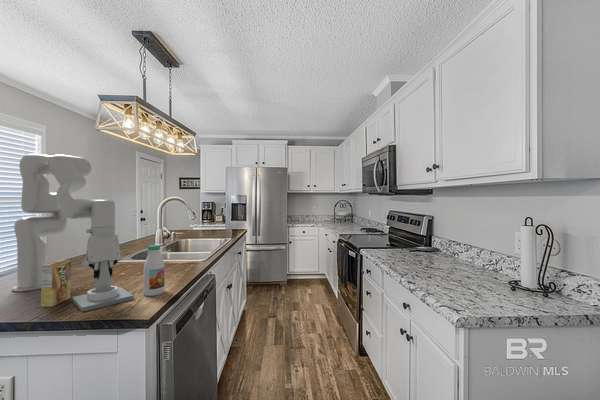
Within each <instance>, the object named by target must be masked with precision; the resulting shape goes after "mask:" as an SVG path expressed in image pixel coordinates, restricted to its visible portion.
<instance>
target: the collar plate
mask: <svg viewBox="0 0 600 400" xmlns="http://www.w3.org/2000/svg"><path fill="white" fill-rule="evenodd" d="M132 300H134V294H132V293H130V292H129V291H127V290H126V289H124V288H122V287H121V286H119V287H118V286H117V285H111V287H110V289H107V290H103V291H97V290H96V288H95V287H94V288H92V289H88V291H86V294H85V293H83V294H81V295H75V296H72V297H71V301H72V303H74V305H75V306H76V307H77V308H78V310H80V312H81V311H82V312H81V313H83V311H84V312H87V311H91V310H95V309H98V308H99V309H100V308H105V307H107V306H111V305H115V304H116V305H117V304H120V303H123V302H127V301H132Z"/></svg>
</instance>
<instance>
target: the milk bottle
mask: <svg viewBox="0 0 600 400" xmlns="http://www.w3.org/2000/svg"><path fill="white" fill-rule="evenodd" d="M147 251H148V254H147V256H146V259H145V261H144V263H143V295H144V296H145V297H154V296H159V295H162V294H164V292H165V282H166V281H165V263H164V259H163V257H162V254H161V245H160V244H151V245H148V247H147Z"/></svg>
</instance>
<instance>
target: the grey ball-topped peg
mask: <svg viewBox="0 0 600 400" xmlns="http://www.w3.org/2000/svg"><path fill="white" fill-rule="evenodd" d="M98 268H99V270H100V274H99V279H98V281H97V278H94V282H93V286H94V289H95V288H96V290H97V291H103V290H107V289H110V287H111V286H113V285H112V284H113V278H112V277H111V278H110V274H109V263H108V261H103V262H99V265H98Z"/></svg>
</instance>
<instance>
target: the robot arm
mask: <svg viewBox="0 0 600 400" xmlns="http://www.w3.org/2000/svg"><path fill="white" fill-rule="evenodd" d="M18 166H19V173H20V176H21V180H22V187H21V188H22V189H21V201H20V203H21V204H20V205H21V210H22V212H24V213H26V214H33V215H34V214H50V215H38V216H37V215H34V216H33V215H32V216H25V217H20V218H19V219H17V220H16V221H15V223H14V226H13V229H14V233H15V239H16V246H17V247H16V248H17V249H16V250H17V252H16V255H17V256H16V258H17V259H16V260H17V261H16V262H17V263H16V265H17V267H16V272H17V274H16V276H17V277H16V278H17V279H16V285H14V286H12V288H11V291H13V292H28V291H36V290H40V289H41V282H42V265H44V264H48V245H47V244H46V242H45V241H44V240H42V238H43V237H44V238H45V237H55V236H61V235H63V234H64V233H65V231H66V230H67V226H68V225H67V223H68V219H71V220H79V219H81V220H82V219H90V220H91V221H90V223H91V224H90V228H88V229H86V231H85V232H86V234H90V235H89V236H88V237H87V238H88V239H87V245H86V254H85V257H84V259H83V260H82V262H81V265H83V266H84V267H89V268H91V269H93V279H95V278H97V281H98V279H99V274H100V270H99V268H98V265H99V262H103V261H108V263H109V274H110V278H112V276H113V268H114V267H115V265H116V264H118V263H119V262H120V261H122V260H123V259H124V257H123V256H122V254H121V248H120V239H119V235H118V233H116V203H115V201H114V200H112V199H96V198H95V199H88V198H81V199H80V198H73V196H72V195H71V194H72V193H75V192H79V191H81V190H82V189H83V188H85V186H86V184H87V179H86V176H89V174H90V173H91V172H92V164H91V163H90V161H89V160H88V159H87V158H85V157H82V156H73V155H68V154H54V155H49V154H42V153H29V154H26V155H25V154H24V155H23V156H22V157H21V159H20V161H19V165H18ZM45 175H52V176H54V178H55V179H56V181H57V183H58V184H59V185H60V186H59V187H58V188H57V190H56V192H50V182H49V180H48V178H47V177H46V176H45Z"/></svg>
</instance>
